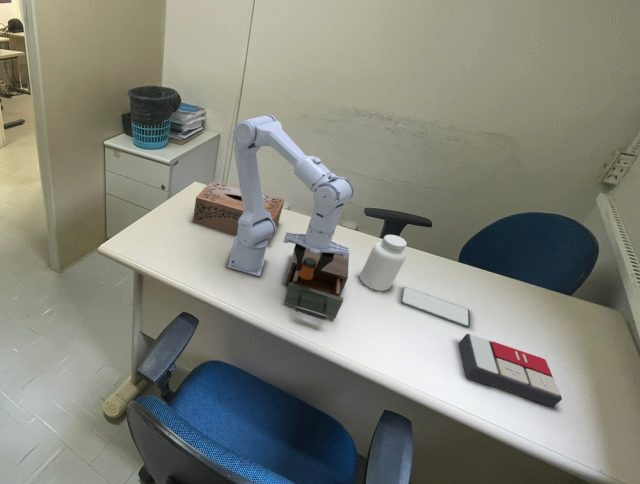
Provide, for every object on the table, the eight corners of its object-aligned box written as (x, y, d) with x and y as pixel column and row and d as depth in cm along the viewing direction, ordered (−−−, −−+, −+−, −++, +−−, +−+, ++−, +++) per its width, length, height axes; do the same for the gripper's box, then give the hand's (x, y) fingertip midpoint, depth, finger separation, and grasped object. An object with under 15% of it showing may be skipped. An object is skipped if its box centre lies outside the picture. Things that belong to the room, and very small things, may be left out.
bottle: (297, 277, 101) (301, 262, 98) (298, 269, 104) (303, 254, 101) (312, 281, 100) (317, 267, 97) (313, 273, 102) (318, 258, 100)
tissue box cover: (277, 224, 137) (284, 199, 132) (267, 245, 127) (273, 219, 121) (208, 204, 148) (211, 180, 143) (192, 222, 138) (196, 197, 132)
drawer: (334, 332, 96) (342, 314, 93) (280, 315, 101) (286, 296, 97) (337, 288, 109) (344, 270, 106) (289, 274, 114) (295, 257, 110)
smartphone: (470, 326, 99) (401, 301, 106) (469, 327, 99) (400, 302, 106) (469, 309, 104) (403, 286, 111) (468, 311, 104) (403, 288, 111)
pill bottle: (394, 293, 109) (417, 250, 101) (363, 289, 111) (383, 246, 102) (385, 275, 116) (405, 233, 107) (355, 271, 117) (374, 229, 109)
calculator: (566, 398, 79) (477, 365, 85) (551, 409, 82) (465, 377, 87) (548, 357, 87) (467, 330, 93) (535, 369, 90) (458, 342, 95)
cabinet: (338, 300, 107) (347, 277, 102) (285, 284, 112) (292, 262, 107) (340, 270, 117) (349, 248, 112) (291, 257, 122) (298, 235, 117)
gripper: (287, 227, 93) (274, 271, 100) (355, 244, 88) (336, 289, 95) (291, 213, 98) (279, 256, 106) (356, 228, 93) (338, 272, 100)
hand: (306, 271), depth 101 cm, fingers closed on bottle, 3 cm apart
